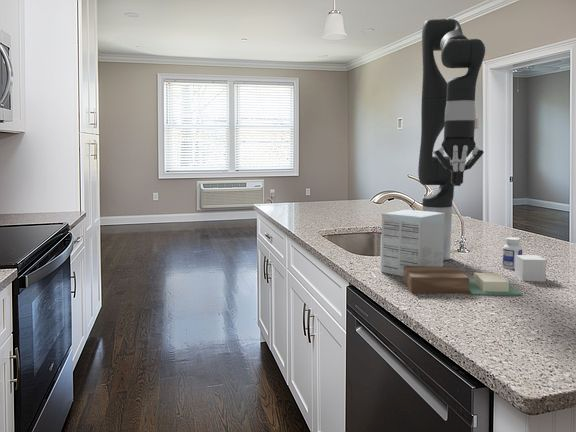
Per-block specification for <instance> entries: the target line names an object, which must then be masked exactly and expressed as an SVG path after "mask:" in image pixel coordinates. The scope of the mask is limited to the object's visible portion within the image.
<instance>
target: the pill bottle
mask: <svg viewBox="0 0 576 432" xmlns="http://www.w3.org/2000/svg"><path fill="white" fill-rule="evenodd" d="M505 243H506V244H504V245H503V247H502V267H503V269H504V268H505V269H509V270H515V257H516V255H523V246H522V245H520V244H521V238H520V237H505Z"/></svg>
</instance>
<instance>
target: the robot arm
mask: <svg viewBox="0 0 576 432" xmlns="http://www.w3.org/2000/svg"><path fill="white" fill-rule="evenodd" d="M421 48H422V49H421V51H422V52H421V53H422V54H421V55H422V87H421V104H420V105H421V106H420V107H421V109H420V111H421V112H420V113H421V119H420V121H421V125H420V126H421V130H420V131H421V134H420V135H421V137H420V145H419V146H420V148H419V155H418V170H417V172H418V180H419V182H420V184H421V185H424V186H439V187H438V189H437V190H436V191H434V192H433V193H431V194H428V195H425V196H423V198H422V210H421V211H429V212H440V213H445V219H444V253H443V262H444V261H449V260H450V259H451V248H452V244H451V243H452V220H453V218H452V217H453V215H452V214H453V200H454V195H455V187H460V186H461V185H462V184H463V183H464V174H465V171H467V170H470V169H472V167H473V166H474V165H475V164H476V163H477V162H478V161H479V159H480V158H481V157H482V156H483V154H484V152H485V151H484V150H482V149H479V148H478V147H477V146H476V142H475V127H476V125H475V124H476V117H477V115H476V88H477V80H478V78H479V77H478V76H479V73H480V70H481V67H482V64H483V61H484V59H485V55H486V46H485V44H484V42H483V40H481V39H479V38H467V37H466V36H465V34H463V29H462V27H461V23H460V22H459V21H458V20H456V19H454V18H440V19H439V18H437V19H433V18H432V19H427V20H425V21H424V23H423V25H422V32H421ZM435 51H438V52H439V51H440V53H441V55H440V58H441V59H440V60H441V64H442V65H443V67H446V68H447V69H467V72H466V74H464V75H462V76H457V77H453V78H450V79H449V80H448V81H446V79H445V78H444V76H443V74H442V73H441V71H440V69H439V67H438V65H437V62H436V59H435V54H434V52H435ZM441 132H443V141H442V142H441V146H440V147H439V148H437V149H434V147H435V144H436V141H437V139H438V138H439V135H440V134H441ZM445 154H446V155H447V156H445ZM469 155H471V157H470V158H469V159H468V161H467V158H468V157H469Z"/></svg>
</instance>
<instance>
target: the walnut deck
mask: <svg viewBox="0 0 576 432" xmlns="http://www.w3.org/2000/svg"><path fill="white" fill-rule="evenodd" d="M402 279H403V282H404V284H405V285H406V287H407V289H408V291H409V292H410V293H411V294H455V295H456V294H458V295H459V294H463V295H465V294H466V295H467V294H468V295H469V294H470V293H469V279H470V277H469V276H468V275H467V274H465V272H463V271H462V270H461V269H460V268H459V267H457V266H443V267H436V266H404V276H403V278H402Z"/></svg>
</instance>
